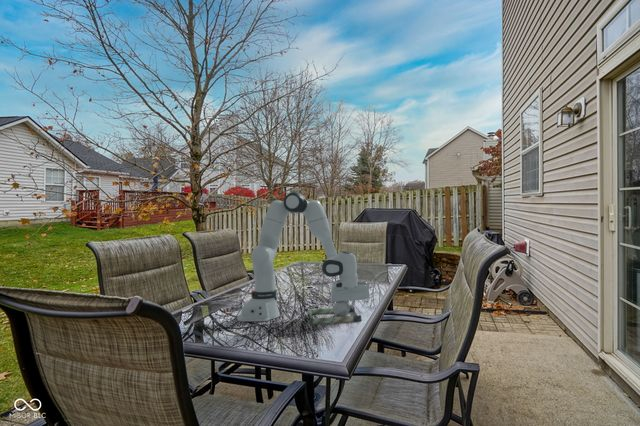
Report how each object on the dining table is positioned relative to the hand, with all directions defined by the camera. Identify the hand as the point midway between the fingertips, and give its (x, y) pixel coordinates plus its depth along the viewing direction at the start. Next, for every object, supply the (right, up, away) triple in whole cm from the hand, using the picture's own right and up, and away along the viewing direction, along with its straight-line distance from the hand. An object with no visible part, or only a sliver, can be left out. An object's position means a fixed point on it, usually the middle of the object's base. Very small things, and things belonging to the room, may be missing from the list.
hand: (350, 308), depth 183 cm
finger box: (-9, -4, -1) cm, 10 cm away
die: (-5, -4, -1) cm, 6 cm away
